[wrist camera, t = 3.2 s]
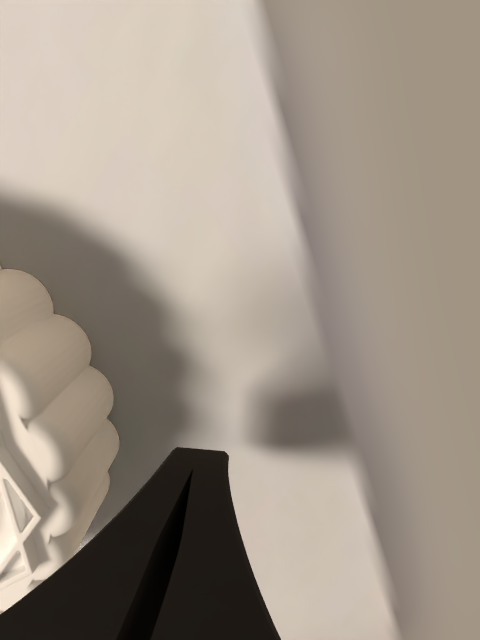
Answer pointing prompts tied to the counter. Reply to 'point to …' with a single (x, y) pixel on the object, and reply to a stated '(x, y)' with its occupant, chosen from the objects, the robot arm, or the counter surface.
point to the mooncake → (47, 436)
